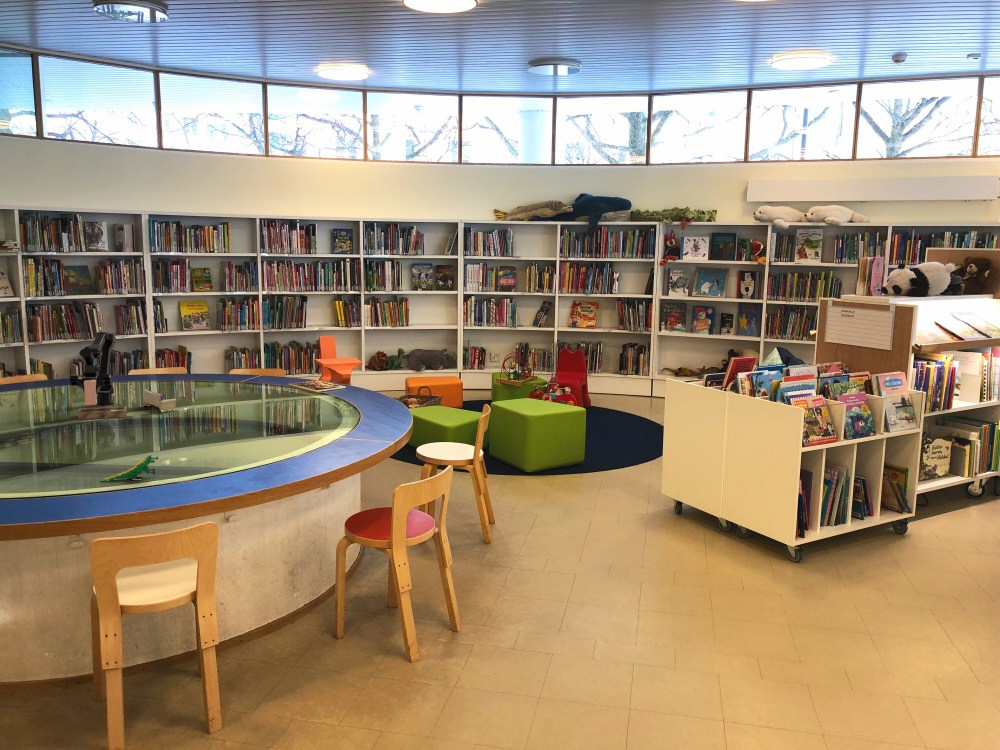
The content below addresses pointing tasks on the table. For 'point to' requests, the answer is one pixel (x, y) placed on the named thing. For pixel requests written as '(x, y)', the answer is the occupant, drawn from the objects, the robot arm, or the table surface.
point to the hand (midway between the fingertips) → (90, 393)
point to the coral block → (90, 392)
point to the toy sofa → (158, 400)
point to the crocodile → (136, 469)
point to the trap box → (102, 412)
